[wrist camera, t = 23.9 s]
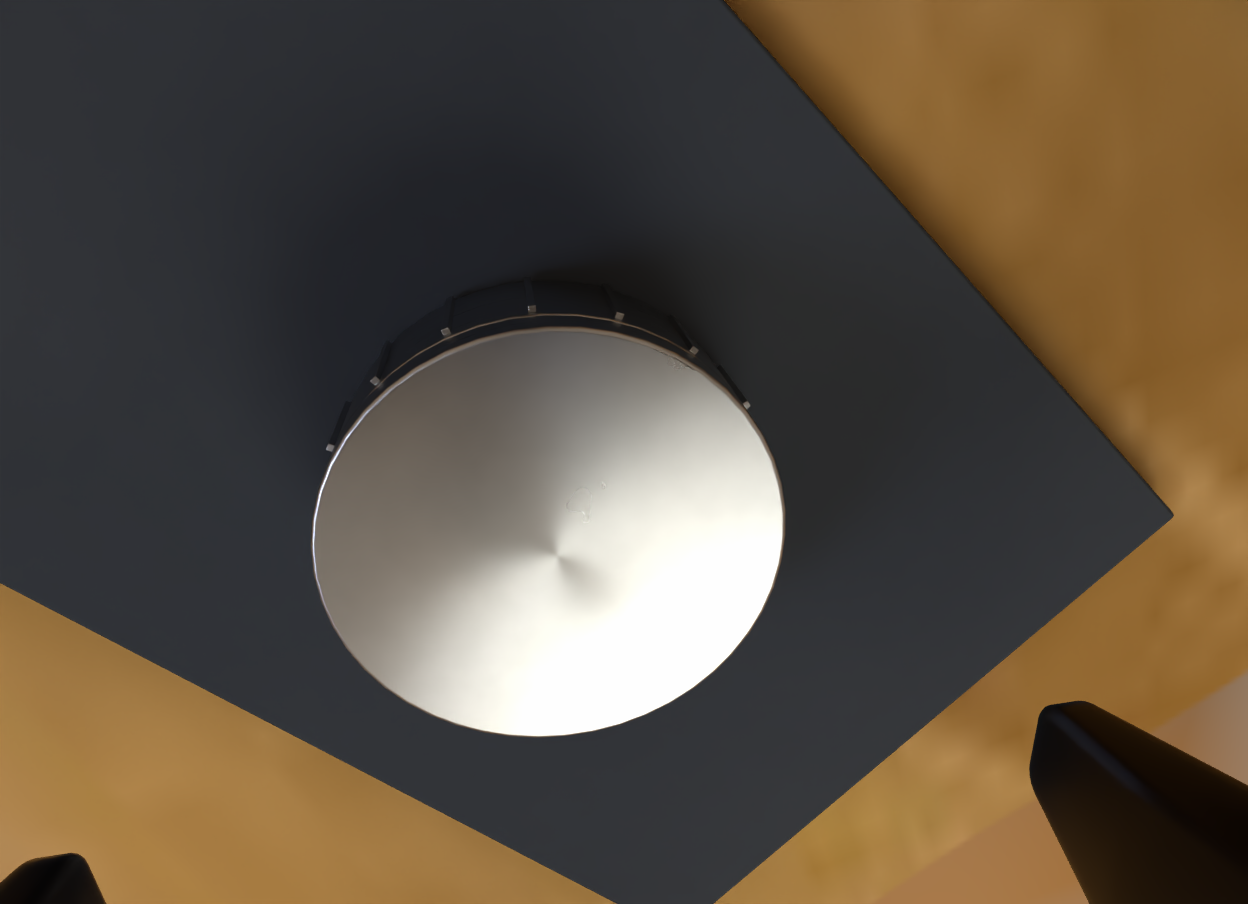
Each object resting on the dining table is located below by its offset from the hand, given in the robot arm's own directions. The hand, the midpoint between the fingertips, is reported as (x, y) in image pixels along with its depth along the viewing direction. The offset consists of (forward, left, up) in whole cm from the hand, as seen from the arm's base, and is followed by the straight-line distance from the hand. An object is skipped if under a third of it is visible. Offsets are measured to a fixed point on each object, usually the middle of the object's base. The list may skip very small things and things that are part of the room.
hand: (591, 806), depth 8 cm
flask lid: (0, 0, -5) cm, 5 cm away
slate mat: (0, 0, -8) cm, 8 cm away
